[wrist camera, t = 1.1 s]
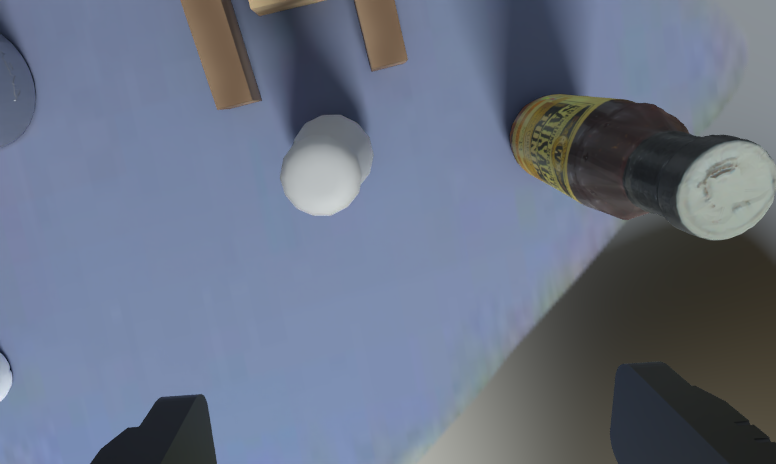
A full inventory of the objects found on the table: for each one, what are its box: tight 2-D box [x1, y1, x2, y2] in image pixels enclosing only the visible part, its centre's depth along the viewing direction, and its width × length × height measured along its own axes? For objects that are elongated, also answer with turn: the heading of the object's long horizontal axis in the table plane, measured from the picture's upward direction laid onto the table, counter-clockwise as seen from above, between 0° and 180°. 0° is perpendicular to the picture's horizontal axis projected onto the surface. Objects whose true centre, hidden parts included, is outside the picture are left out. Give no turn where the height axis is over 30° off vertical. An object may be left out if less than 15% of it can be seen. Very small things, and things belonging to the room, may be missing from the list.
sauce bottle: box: [510, 94, 776, 240], centre depth 28 cm, size 7×6×20 cm
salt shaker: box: [280, 115, 373, 216], centre depth 31 cm, size 6×6×13 cm
